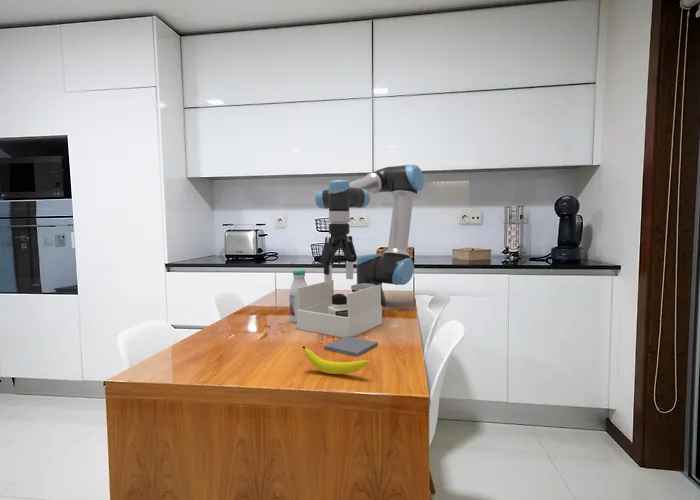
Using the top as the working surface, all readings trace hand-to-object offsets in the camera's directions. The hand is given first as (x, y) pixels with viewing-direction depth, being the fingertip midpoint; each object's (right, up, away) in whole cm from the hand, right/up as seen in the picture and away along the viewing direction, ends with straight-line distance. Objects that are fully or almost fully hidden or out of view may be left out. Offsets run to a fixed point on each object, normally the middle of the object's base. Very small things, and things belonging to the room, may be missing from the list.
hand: (339, 281), depth 148 cm
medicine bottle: (0, -17, +2) cm, 17 cm away
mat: (+4, -19, -23) cm, 30 cm away
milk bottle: (-16, -17, +10) cm, 25 cm away
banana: (0, -21, -44) cm, 49 cm away
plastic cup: (+10, -15, +21) cm, 28 cm away
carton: (0, -17, +2) cm, 17 cm away
